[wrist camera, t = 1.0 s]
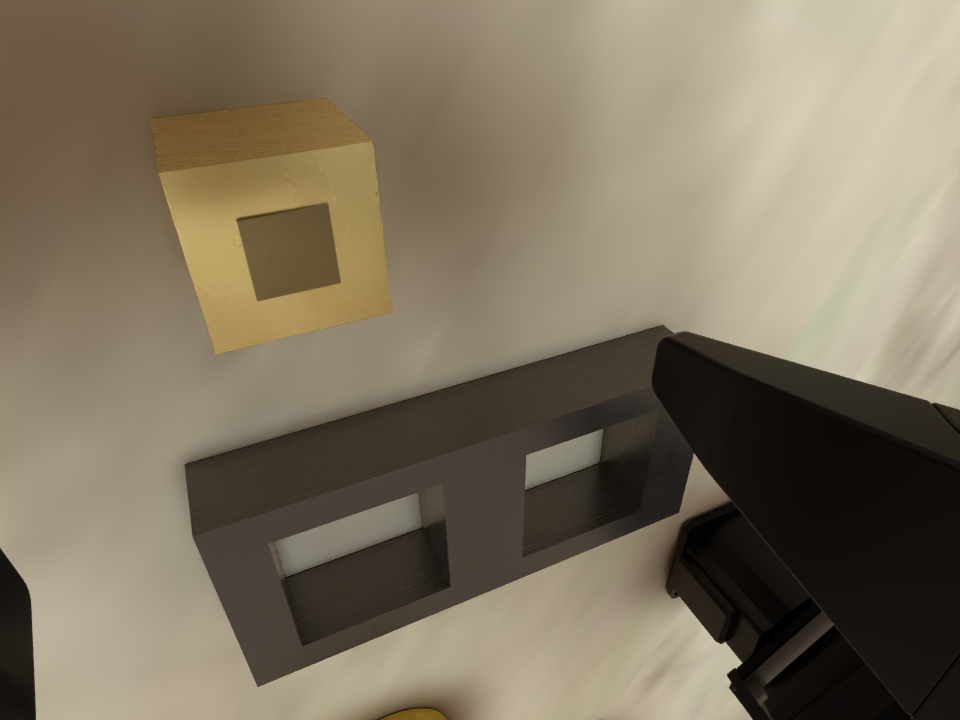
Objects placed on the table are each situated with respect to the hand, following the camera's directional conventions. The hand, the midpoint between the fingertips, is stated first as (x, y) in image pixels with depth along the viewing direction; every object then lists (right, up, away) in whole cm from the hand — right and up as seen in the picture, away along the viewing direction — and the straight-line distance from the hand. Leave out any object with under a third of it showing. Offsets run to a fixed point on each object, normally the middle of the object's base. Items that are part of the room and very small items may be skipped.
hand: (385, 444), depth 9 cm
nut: (-4, +6, +8) cm, 10 cm away
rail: (+1, -3, +16) cm, 16 cm away
